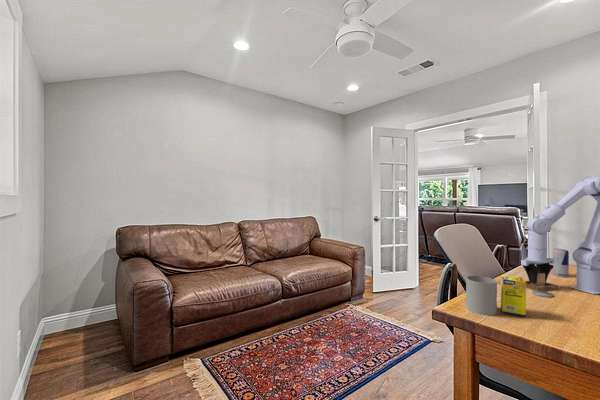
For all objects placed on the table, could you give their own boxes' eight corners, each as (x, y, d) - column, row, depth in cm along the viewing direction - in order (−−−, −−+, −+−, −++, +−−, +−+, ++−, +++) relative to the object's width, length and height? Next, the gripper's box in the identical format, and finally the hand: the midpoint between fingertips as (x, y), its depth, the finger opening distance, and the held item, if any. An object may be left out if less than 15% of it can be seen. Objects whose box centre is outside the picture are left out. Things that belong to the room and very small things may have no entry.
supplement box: (526, 318, 86) (526, 281, 85) (501, 313, 89) (502, 278, 89) (523, 311, 91) (523, 277, 90) (500, 307, 94) (500, 274, 94)
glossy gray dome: (540, 291, 109) (540, 290, 109) (557, 296, 103) (557, 295, 103) (528, 292, 108) (528, 291, 108) (545, 298, 102) (545, 296, 102)
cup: (501, 316, 87) (502, 284, 87) (472, 314, 88) (472, 282, 88) (489, 306, 95) (489, 276, 95) (462, 304, 97) (462, 275, 97)
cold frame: (536, 283, 119) (536, 279, 119) (558, 289, 111) (558, 285, 111) (517, 285, 117) (518, 281, 117) (538, 291, 109) (538, 287, 109)
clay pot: (536, 285, 117) (536, 270, 117) (548, 288, 112) (548, 273, 112) (527, 286, 116) (527, 271, 116) (539, 289, 111) (539, 274, 111)
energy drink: (572, 277, 127) (572, 250, 127) (559, 277, 127) (560, 250, 127) (561, 274, 133) (561, 248, 132) (549, 274, 133) (549, 248, 132)
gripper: (541, 245, 119) (541, 278, 119) (513, 247, 116) (513, 280, 116) (560, 248, 112) (559, 283, 113) (531, 250, 109) (531, 285, 109)
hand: (537, 282), depth 114 cm, fingers closed on clay pot, 4 cm apart
